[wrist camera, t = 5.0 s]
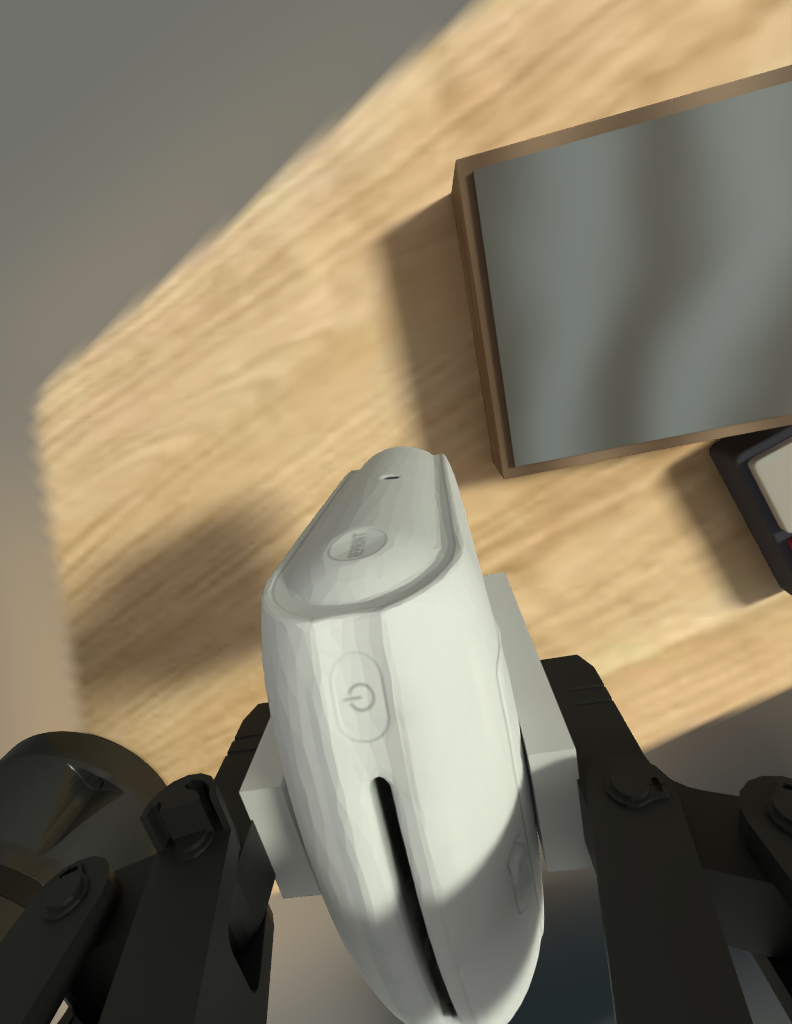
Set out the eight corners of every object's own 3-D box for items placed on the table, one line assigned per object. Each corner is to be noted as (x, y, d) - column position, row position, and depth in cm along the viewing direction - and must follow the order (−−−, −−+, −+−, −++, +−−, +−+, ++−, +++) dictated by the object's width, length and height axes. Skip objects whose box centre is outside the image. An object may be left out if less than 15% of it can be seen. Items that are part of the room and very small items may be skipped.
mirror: (493, 462, 27) (504, 480, 23) (451, 192, 23) (456, 157, 19) (748, 412, 25) (809, 423, 21) (753, 109, 21) (830, 50, 17)
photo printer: (336, 454, 17) (145, 655, 5) (450, 431, 17) (516, 596, 5) (394, 683, 20) (353, 1133, 8) (492, 669, 20) (596, 1128, 8)
